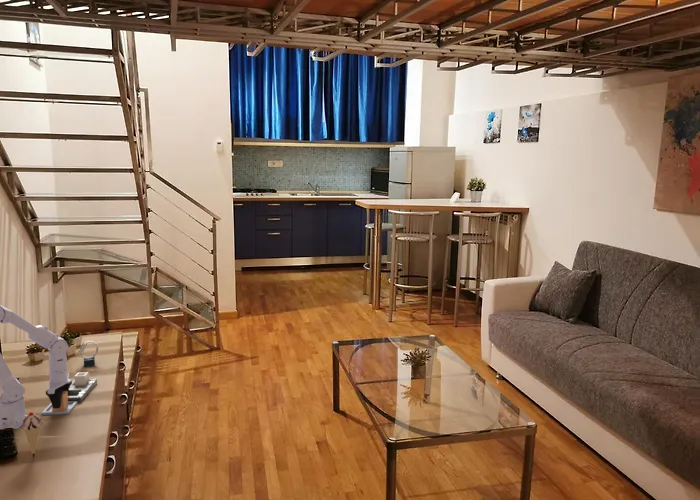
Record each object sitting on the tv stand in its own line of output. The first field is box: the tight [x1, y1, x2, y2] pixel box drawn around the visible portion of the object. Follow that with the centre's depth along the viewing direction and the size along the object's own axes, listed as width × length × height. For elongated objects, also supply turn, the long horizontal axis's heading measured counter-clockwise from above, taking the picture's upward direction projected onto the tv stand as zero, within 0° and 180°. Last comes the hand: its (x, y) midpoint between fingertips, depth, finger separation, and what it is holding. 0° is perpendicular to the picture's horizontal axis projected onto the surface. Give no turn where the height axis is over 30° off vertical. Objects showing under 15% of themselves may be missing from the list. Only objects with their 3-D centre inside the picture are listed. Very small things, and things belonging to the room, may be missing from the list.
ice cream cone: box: [20, 412, 44, 458], centre depth 161 cm, size 6×6×15 cm
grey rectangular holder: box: [68, 377, 98, 403], centre depth 207 cm, size 18×9×2 cm, turn 8°
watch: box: [78, 339, 99, 368], centre depth 236 cm, size 6×8×11 cm
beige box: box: [73, 371, 90, 385], centre depth 212 cm, size 4×4×6 cm
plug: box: [52, 391, 69, 411], centre depth 193 cm, size 4×4×6 cm
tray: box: [41, 401, 79, 416], centre depth 193 cm, size 9×9×1 cm
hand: (60, 404), depth 193 cm, fingers open, 5 cm apart
